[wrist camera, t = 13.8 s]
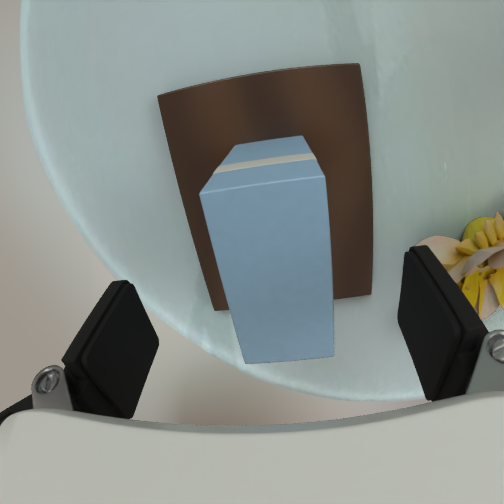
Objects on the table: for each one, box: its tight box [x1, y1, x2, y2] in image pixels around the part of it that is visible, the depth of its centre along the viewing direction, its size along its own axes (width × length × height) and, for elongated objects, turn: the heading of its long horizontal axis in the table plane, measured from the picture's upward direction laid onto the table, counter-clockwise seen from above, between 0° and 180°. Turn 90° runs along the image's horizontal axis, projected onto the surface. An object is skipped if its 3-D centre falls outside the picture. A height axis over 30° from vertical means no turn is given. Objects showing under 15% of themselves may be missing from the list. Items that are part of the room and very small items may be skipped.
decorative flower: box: [415, 212, 504, 320], centre depth 16 cm, size 15×11×10 cm
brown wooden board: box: [157, 63, 373, 311], centre depth 20 cm, size 12×16×1 cm
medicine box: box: [199, 136, 334, 364], centre depth 15 cm, size 4×8×9 cm, turn 10°
